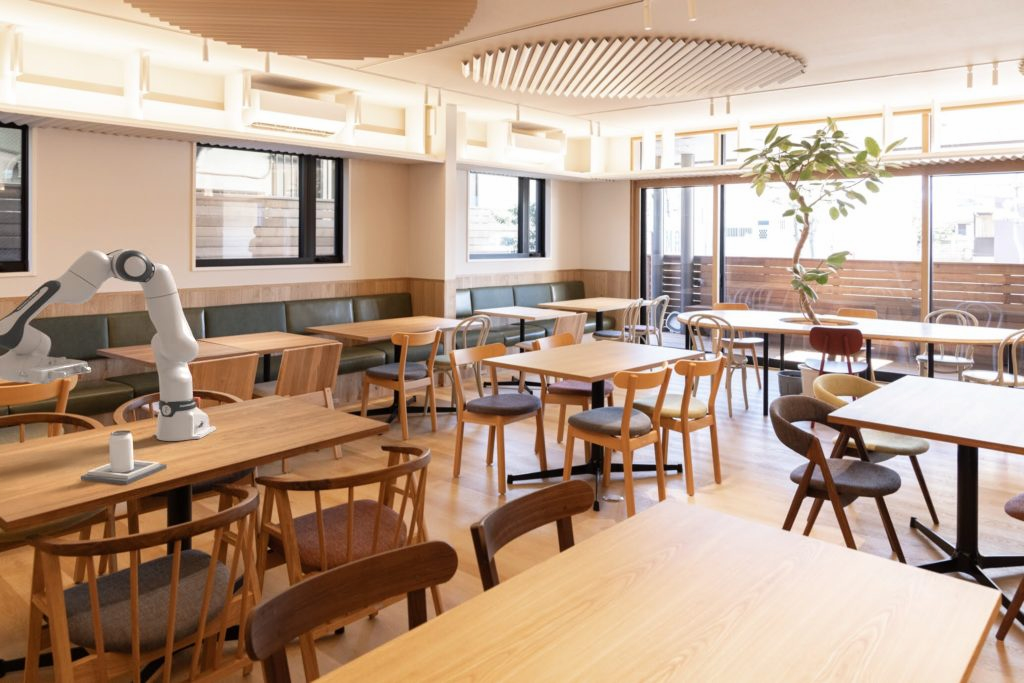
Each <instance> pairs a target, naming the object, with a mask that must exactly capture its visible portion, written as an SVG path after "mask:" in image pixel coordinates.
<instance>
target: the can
mask: <svg viewBox="0 0 1024 683" xmlns="http://www.w3.org/2000/svg"><path fill="white" fill-rule="evenodd" d="M109 434H110V435H109V438H108V441H109V442H108V444H109V447H108V448H109V463H110V468H111V471H112V472H113V473H126V472H130V471H132V470H133V469H134V460H135V459H134V442H133V440H134V438H133V435H132V434H131V431H130V430H123V429H122V430H115V431H112V432H110V433H109Z"/></svg>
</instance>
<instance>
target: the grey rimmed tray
mask: <svg viewBox="0 0 1024 683" xmlns="http://www.w3.org/2000/svg"><path fill="white" fill-rule="evenodd" d="M166 469H167V464H165V463H161V462H157V461H146V460H137V459H136V460H135V459H134V469H133V470H132V471H130V472H126V473H113V472H112V471H111V468H110V462H109V463H106V464H103V465H101V466H98V467H95V468H93V469H90V470H87V473H85V474H81V475H80V480H81V481H88V482H97V483H107V484H114V485H130V484H132V483H134V482H136V481H139V480H141V479H143V478H146V477H149V476H151V475H153V474H155V473H158V472H161V471H163V470H166Z"/></svg>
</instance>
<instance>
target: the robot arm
mask: <svg viewBox="0 0 1024 683" xmlns="http://www.w3.org/2000/svg"><path fill="white" fill-rule="evenodd" d="M111 278H115V279H118V280H120V281H123V282H132V283H138V284H139V285H140V286H141V289H142V292H143V297H144V299H145V303H146V308H147V311H148V315H149V318H150V321H151V322H152V324H153V326H154V328H155V330H156V333H154V335H153V336H152V338H151V341H150V347H151V349H152V351H153V355H154V360H155V365H156V370H157V374H158V382H159V385H158V386H159V399H158V409H159V412H158V414H157V423H156V424H157V425H156V431H155V432H154V436H156V439H157V440H160V441H165V442H166V441H167V442H177V441H179V442H180V441H188V440H198V439H202V438H205V437H206V436H208V435H209V434H211V433H213V432H214V431H216V430H217V428H216V426H214V425H210V418H209V416H208V414H207V413H206V412H204V411H203V410H201V409H200V408H199V407H198V406H197V403H201V397H199V396H194V395H193V394H194V393H193V391H194V390H193V376H192V373H191V371H190V368H189V363H190V362H192V361H194V360H195V359H196V358H197V357H198V354H199V351H200V348H199V347H200V346H199V343H198V342H197V340H196V339H195V337H194V335H193V332H192V329H191V328H190V325H189V323H188V321H187V319H186V316H185V313H184V311H183V307H182V303H181V300H180V299H181V298H180V294H179V291H178V287H177V284H176V281H175V278H174V276H173V273H172V271H171V269H170V268H169V266H167V265H166V264H164V263H159V262H157V263H156V262H154V263H153V262H152V261H151V260H150V259H149V258H148V257H147V256H146V254H144V253H143V252H141V251H138V250H135V249H131V248H124V249H123V248H122V249H121V248H120V249H116V250H114V251H111V252H108V253H104V252H102V251H100V250H97V249H89V250H87V251H85V252H84V253H83V254H82V255H81V256H79V257H78V258H77V259H76V260H75V261H74V262H73V263H72V264H71V265H70V266H69V267H68V269H67V270H66V271H65V272H64V273H63V274H62V275H60V276H58V278H56V279H54V280H48V281H45V282H44V283H43V284H42V285H41V286H39V287H38V288H37V289H36V290H35V291H34V292H32V293H31V294H30V295H29V296H28V297H27V298H25V299H24V300H23V301H22V302H21V303H20V304H19V305H17V307H15V309H13V310H12V311H10V313H8V314H7V315H4V316H3V317H2V318H1V319H0V348H3V349H5V350H9V351H7V352H6V353H4V354H3V355H0V379H2V380H4V381H8V382H14V383H15V382H16V383H29V384H38V385H48V384H50V383H51V382H54V381H55V380H57V379H67V378H69V377H72V376H77V375H82V374H90V373H92V368H91V367H90V366H89V362H88V361H85V360H81V359H72V358H67V357H66V356H49V355H50V353H51V349H52V339H51V338H50V336H49V335H47V334H46V333H44V332H43V331H41V330H39V329H37V328H35V327H33V326H31V325H30V324H29V323H30V322H31V321H32V320H33V319H34V318H35V317H37V315H39V314H40V313H41V312H42V311H43V310H44V309H45V308H46V307H47V306H49V305H51V304H54V303H55V304H56V303H61V304H62V303H63V304H68V305H81V304H85V303H87V302H89V300H92V298H93V297H94V296H95V294H96V293H97V292H98V290H99V289H100V288H101V287H102V285H103V284H104V283H105V282H106V281H107V280H109V279H111Z"/></svg>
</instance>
